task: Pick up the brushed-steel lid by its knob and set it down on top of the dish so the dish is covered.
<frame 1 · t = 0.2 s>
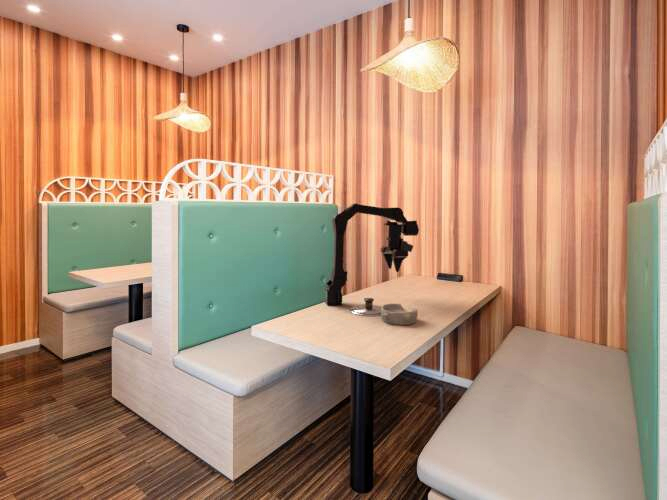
hand: (393, 270, 169), 14 cm above the table, tool pointing down, fingers open, 9 cm apart
lid: (368, 311, 155), on the table
dish: (398, 321, 141), on the table
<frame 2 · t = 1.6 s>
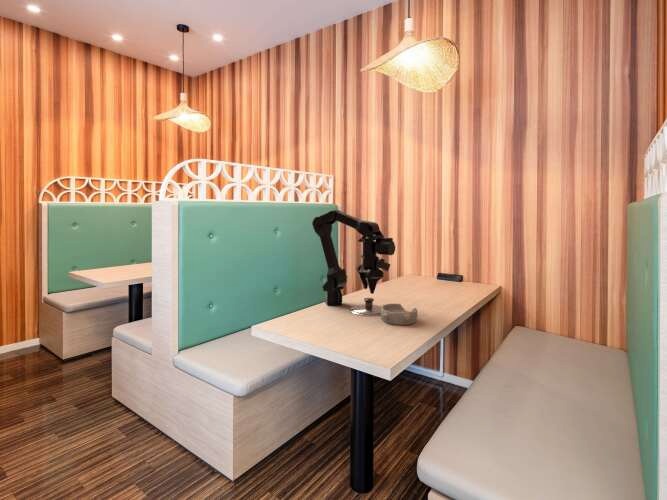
hand: (368, 291, 154), 8 cm above the table, tool pointing down, fingers open, 9 cm apart
nothing on the table moved.
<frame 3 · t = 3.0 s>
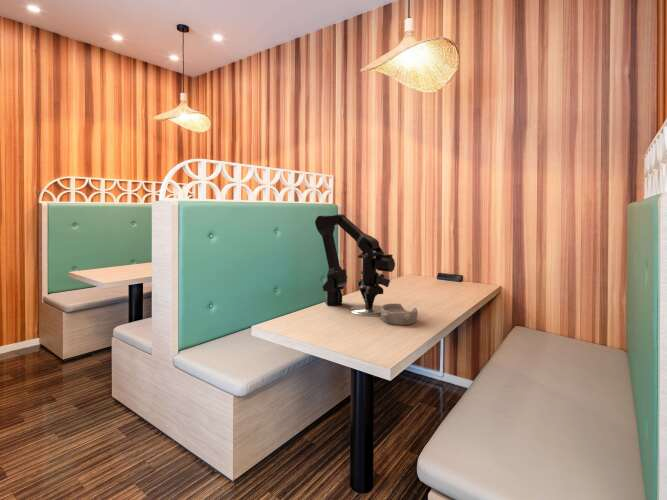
hand: (368, 306, 154), 2 cm above the table, tool pointing down, fingers closed on lid, 4 cm apart
lid: (368, 311, 155), on the table, touching gripper
everything else where it was.
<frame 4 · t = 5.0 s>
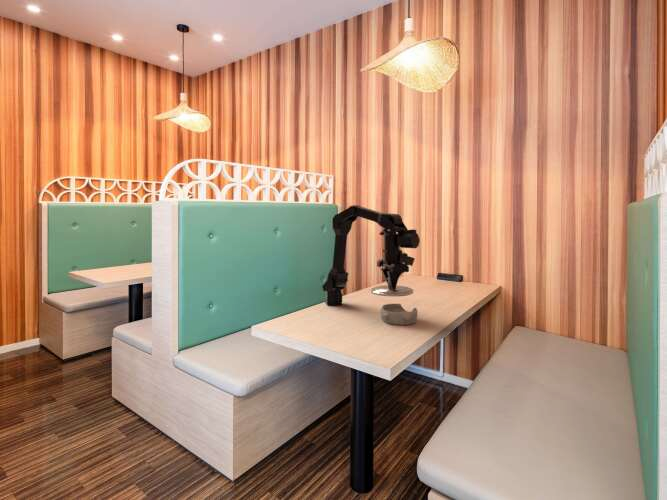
hand: (392, 287, 143), 12 cm above the table, tool pointing down, fingers closed on lid, 3 cm apart
lid: (392, 292, 143), point 10 cm above the table, touching gripper
everything else where it was.
when the fingers open (8 cm above the table, at t = 6.5 s): lid drops 2 cm, resting on dish.
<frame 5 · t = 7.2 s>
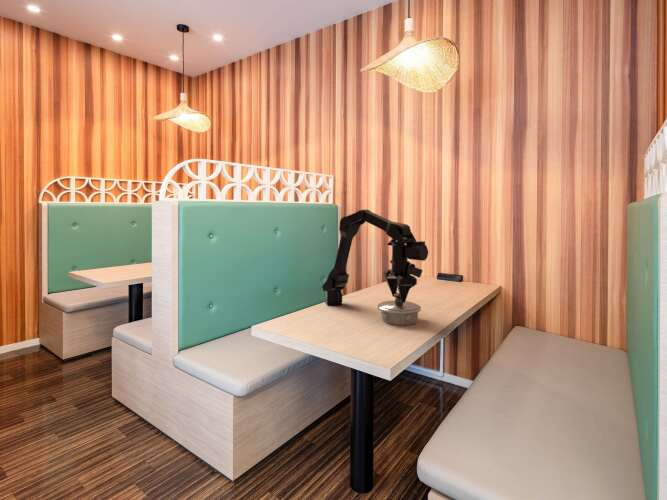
hand: (398, 299, 141), 8 cm above the table, tool pointing down, fingers open, 9 cm apart
lid: (398, 308, 141), point 5 cm above the table, touching dish
dish: (398, 321, 141), on the table, touching lid
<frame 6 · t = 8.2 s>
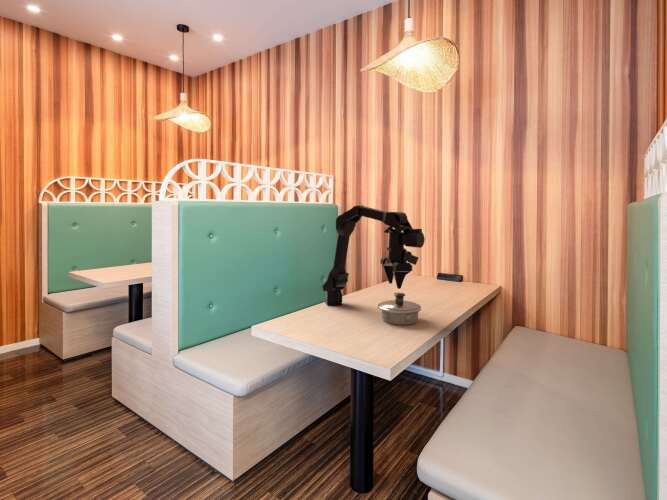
hand: (394, 286, 143), 12 cm above the table, tool pointing down, fingers open, 9 cm apart
nothing on the table moved.
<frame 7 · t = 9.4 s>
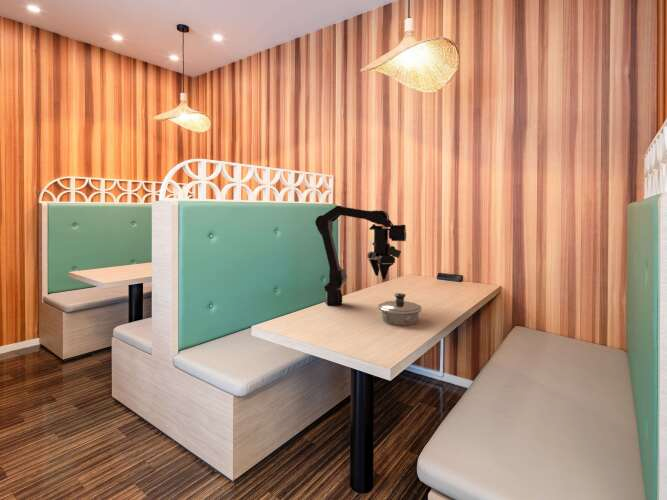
hand: (380, 277, 158), 13 cm above the table, tool pointing down, fingers open, 9 cm apart
nothing on the table moved.
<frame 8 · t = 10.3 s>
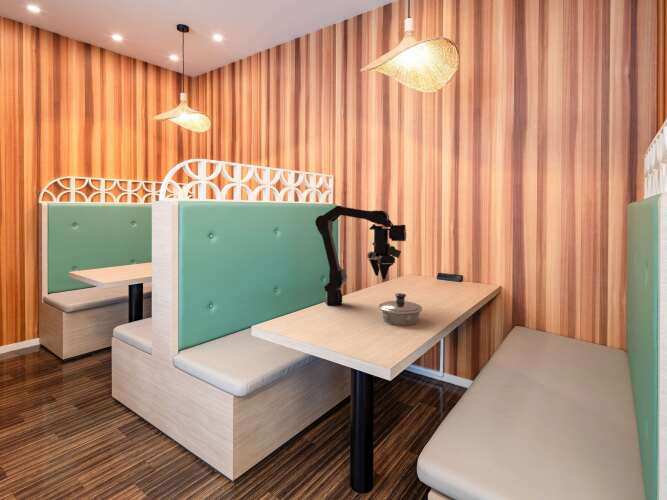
hand: (380, 277, 158), 13 cm above the table, tool pointing down, fingers open, 9 cm apart
nothing on the table moved.
at the end: lid 0.0 cm from the dish (horizontally); lid point 4.4 cm above the table; lid tilted 0° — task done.
